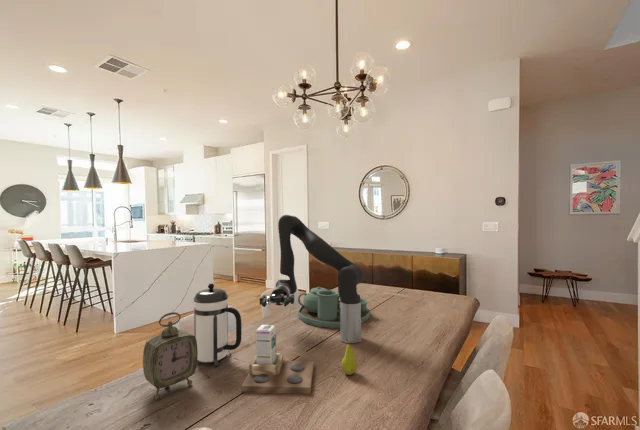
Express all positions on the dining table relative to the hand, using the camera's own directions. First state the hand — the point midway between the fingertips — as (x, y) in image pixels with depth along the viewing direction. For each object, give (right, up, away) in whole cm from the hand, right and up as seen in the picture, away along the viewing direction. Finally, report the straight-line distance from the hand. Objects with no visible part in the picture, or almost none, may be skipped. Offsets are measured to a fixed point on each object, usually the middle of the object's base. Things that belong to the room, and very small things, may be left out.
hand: (274, 304), depth 128 cm
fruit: (+29, -21, -14) cm, 38 cm away
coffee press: (-23, -21, -3) cm, 31 cm away
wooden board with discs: (+4, -21, -17) cm, 27 cm away
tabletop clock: (-31, -21, -23) cm, 44 cm away
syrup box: (-1, -19, -13) cm, 23 cm away
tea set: (+26, -21, +51) cm, 61 cm away
